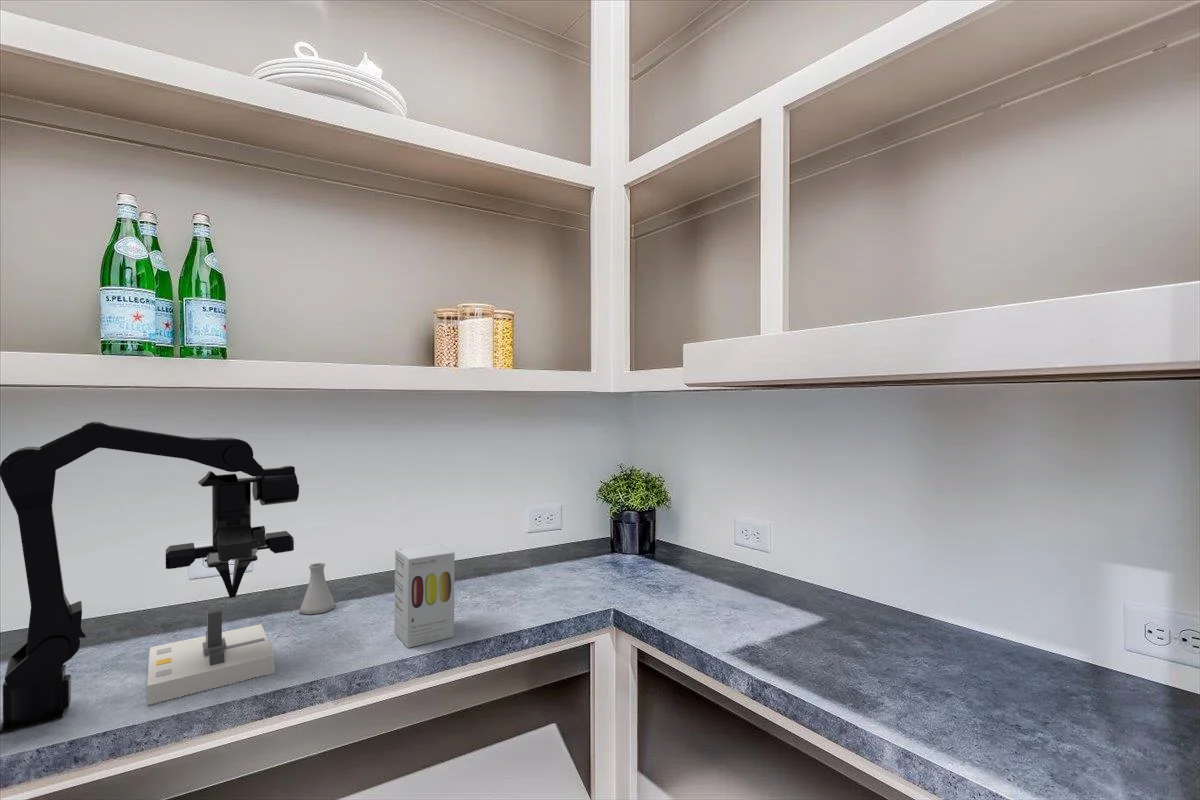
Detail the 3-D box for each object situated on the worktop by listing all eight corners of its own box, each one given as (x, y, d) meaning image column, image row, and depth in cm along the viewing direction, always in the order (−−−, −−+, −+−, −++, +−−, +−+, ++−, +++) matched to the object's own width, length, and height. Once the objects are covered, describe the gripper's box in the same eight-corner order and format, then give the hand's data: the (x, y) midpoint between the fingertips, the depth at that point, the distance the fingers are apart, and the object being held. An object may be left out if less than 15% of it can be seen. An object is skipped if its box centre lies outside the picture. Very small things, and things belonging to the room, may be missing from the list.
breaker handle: (203, 654, 96) (203, 615, 96) (202, 647, 99) (202, 609, 99) (226, 649, 98) (226, 611, 98) (224, 642, 101) (224, 605, 101)
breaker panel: (147, 705, 87) (147, 676, 87) (150, 664, 100) (150, 638, 100) (274, 672, 97) (274, 646, 97) (261, 639, 110) (261, 616, 110)
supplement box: (406, 649, 106) (406, 559, 106) (392, 632, 114) (392, 548, 114) (456, 636, 112) (455, 551, 112) (439, 621, 119) (439, 541, 119)
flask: (340, 603, 130) (340, 559, 130) (325, 615, 123) (325, 569, 123) (309, 603, 130) (309, 560, 130) (292, 615, 123) (292, 569, 123)
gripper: (165, 524, 88) (165, 624, 88) (299, 509, 100) (299, 598, 100) (165, 513, 97) (166, 604, 97) (288, 500, 108) (288, 582, 108)
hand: (232, 597), depth 100 cm, fingers closed
